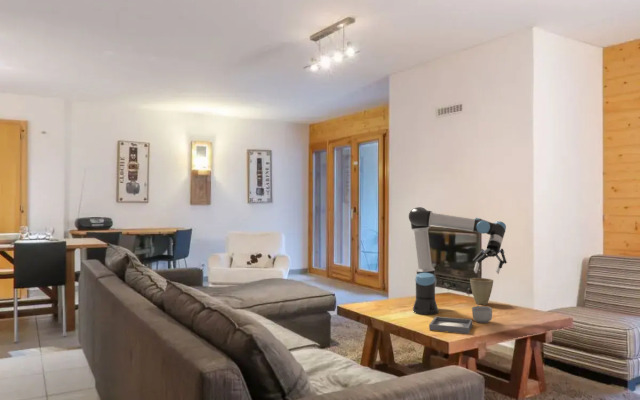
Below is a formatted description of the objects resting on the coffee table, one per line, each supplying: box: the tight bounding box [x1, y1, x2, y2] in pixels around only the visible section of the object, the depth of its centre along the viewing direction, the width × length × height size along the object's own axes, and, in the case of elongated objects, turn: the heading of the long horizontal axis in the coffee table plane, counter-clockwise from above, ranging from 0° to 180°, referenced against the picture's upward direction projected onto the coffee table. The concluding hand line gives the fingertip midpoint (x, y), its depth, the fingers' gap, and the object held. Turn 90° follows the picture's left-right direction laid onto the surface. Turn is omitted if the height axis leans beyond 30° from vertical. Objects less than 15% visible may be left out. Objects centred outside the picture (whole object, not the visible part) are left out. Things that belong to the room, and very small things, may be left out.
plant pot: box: [469, 277, 494, 305], centre depth 331 cm, size 15×15×16 cm
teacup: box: [471, 305, 493, 324], centre depth 281 cm, size 14×11×8 cm
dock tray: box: [428, 316, 473, 335], centre depth 267 cm, size 20×20×3 cm
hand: (486, 272), depth 290 cm, fingers open, 13 cm apart
